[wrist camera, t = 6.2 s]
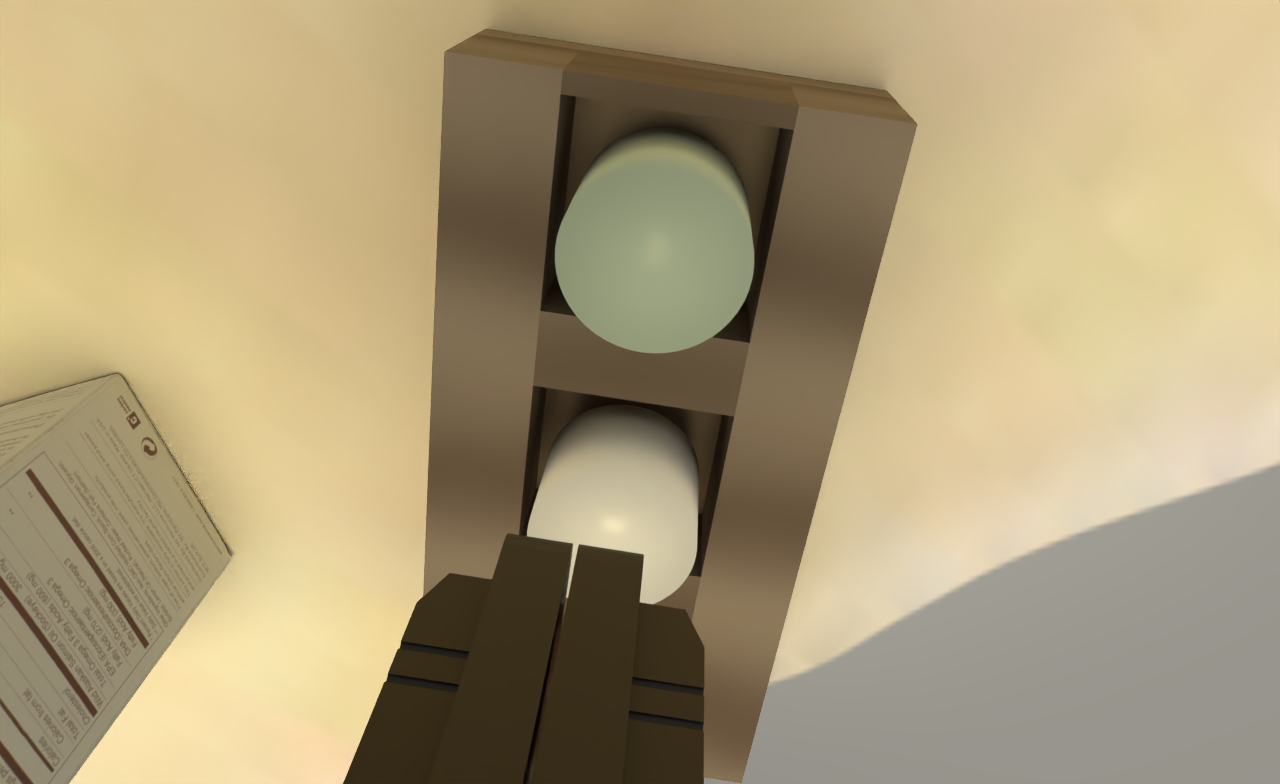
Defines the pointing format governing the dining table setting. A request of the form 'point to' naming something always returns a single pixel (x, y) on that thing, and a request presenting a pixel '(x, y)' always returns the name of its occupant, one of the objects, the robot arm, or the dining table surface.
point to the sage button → (657, 242)
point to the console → (662, 382)
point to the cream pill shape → (623, 493)
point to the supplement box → (88, 570)
